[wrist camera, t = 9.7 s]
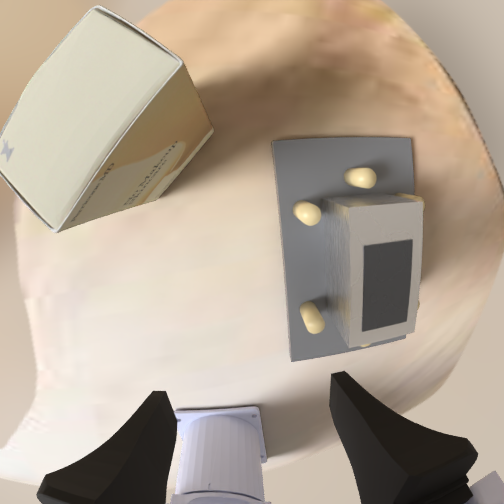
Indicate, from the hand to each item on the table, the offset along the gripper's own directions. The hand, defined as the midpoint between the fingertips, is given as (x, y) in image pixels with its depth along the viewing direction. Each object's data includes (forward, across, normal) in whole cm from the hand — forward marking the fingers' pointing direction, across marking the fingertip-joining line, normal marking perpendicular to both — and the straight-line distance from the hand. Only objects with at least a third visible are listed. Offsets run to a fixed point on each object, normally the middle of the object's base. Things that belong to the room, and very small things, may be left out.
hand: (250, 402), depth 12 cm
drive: (+9, -8, -3) cm, 13 cm away
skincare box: (+10, +4, -12) cm, 16 cm away
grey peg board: (+10, -8, -3) cm, 13 cm away
